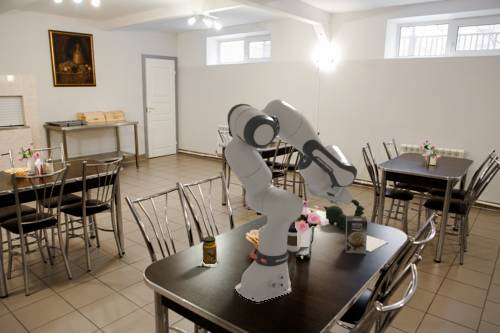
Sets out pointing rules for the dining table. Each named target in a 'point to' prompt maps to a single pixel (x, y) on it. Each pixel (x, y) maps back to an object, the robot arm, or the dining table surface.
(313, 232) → the food container
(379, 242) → the mat
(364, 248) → the coffee box
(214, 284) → the dining table surface
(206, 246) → the condiment
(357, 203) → the toy figurine
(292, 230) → the coffee cup
